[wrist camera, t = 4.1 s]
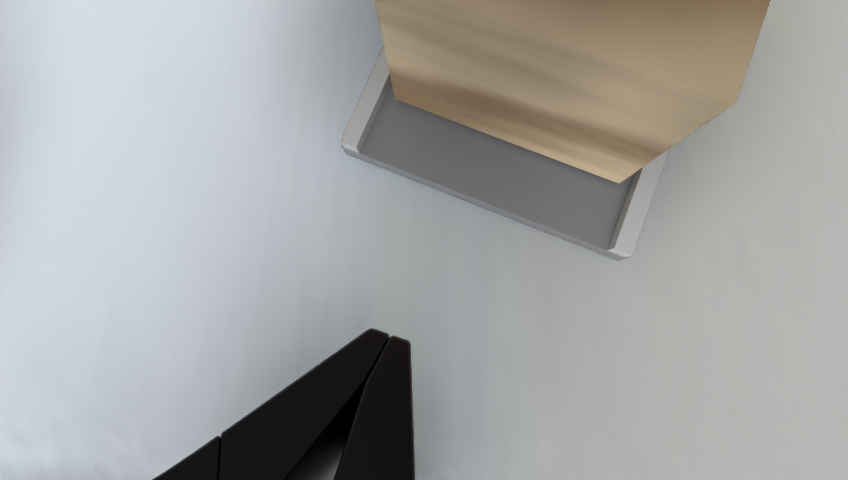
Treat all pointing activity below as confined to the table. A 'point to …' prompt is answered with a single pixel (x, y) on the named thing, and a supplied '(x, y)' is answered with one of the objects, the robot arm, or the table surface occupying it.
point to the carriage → (573, 70)
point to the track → (499, 172)
